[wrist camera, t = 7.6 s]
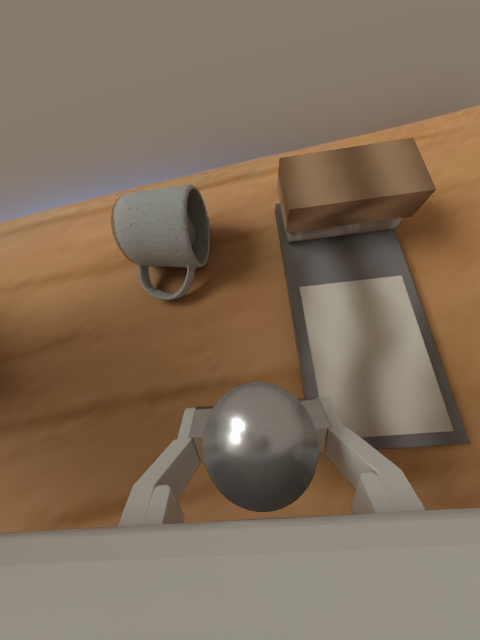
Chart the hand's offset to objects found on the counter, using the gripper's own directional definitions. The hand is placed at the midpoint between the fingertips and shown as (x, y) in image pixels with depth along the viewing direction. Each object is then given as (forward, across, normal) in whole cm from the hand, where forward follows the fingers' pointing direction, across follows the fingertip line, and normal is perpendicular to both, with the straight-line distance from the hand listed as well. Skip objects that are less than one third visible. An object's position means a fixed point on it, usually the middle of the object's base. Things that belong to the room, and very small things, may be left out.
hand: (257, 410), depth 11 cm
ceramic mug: (+19, +8, -4) cm, 21 cm away
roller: (+3, 0, +4) cm, 5 cm away
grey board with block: (+13, -10, +1) cm, 17 cm away
